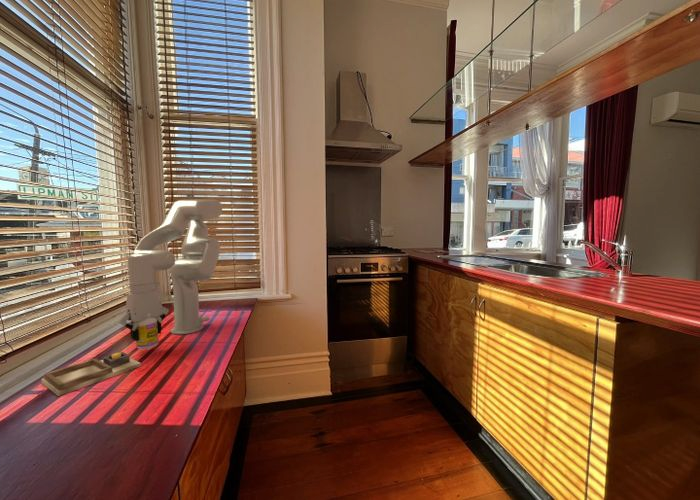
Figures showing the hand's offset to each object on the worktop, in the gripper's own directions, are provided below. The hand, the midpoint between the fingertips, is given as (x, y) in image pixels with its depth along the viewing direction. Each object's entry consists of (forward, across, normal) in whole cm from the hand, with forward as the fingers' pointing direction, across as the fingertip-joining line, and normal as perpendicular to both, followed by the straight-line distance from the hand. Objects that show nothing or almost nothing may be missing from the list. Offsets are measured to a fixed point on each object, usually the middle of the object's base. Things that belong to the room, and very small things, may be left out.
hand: (147, 336), depth 108 cm
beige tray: (+5, +17, +4) cm, 18 cm away
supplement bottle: (+4, 0, 0) cm, 4 cm away
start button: (+4, +11, +3) cm, 12 cm away
